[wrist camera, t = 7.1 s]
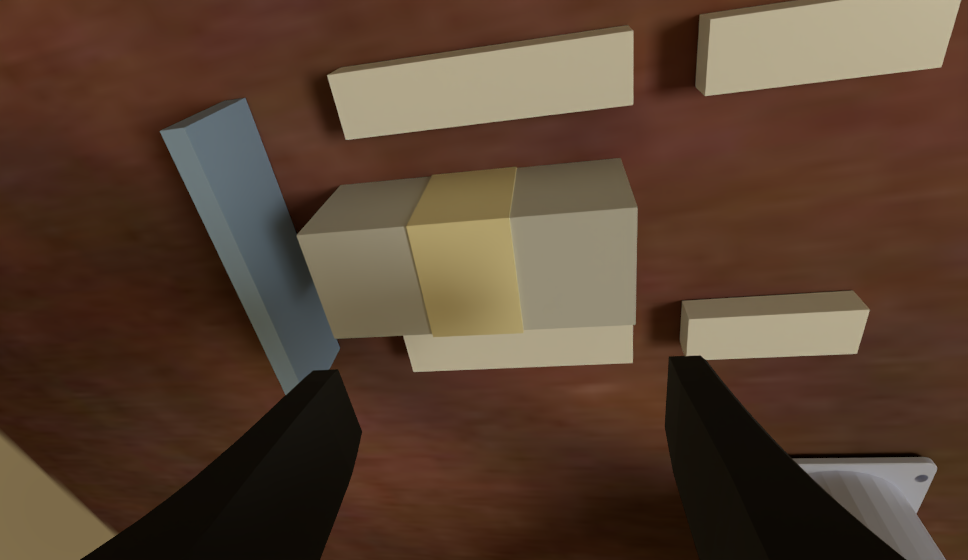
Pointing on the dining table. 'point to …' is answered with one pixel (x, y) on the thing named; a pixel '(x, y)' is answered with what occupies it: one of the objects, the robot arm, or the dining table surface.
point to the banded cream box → (477, 252)
